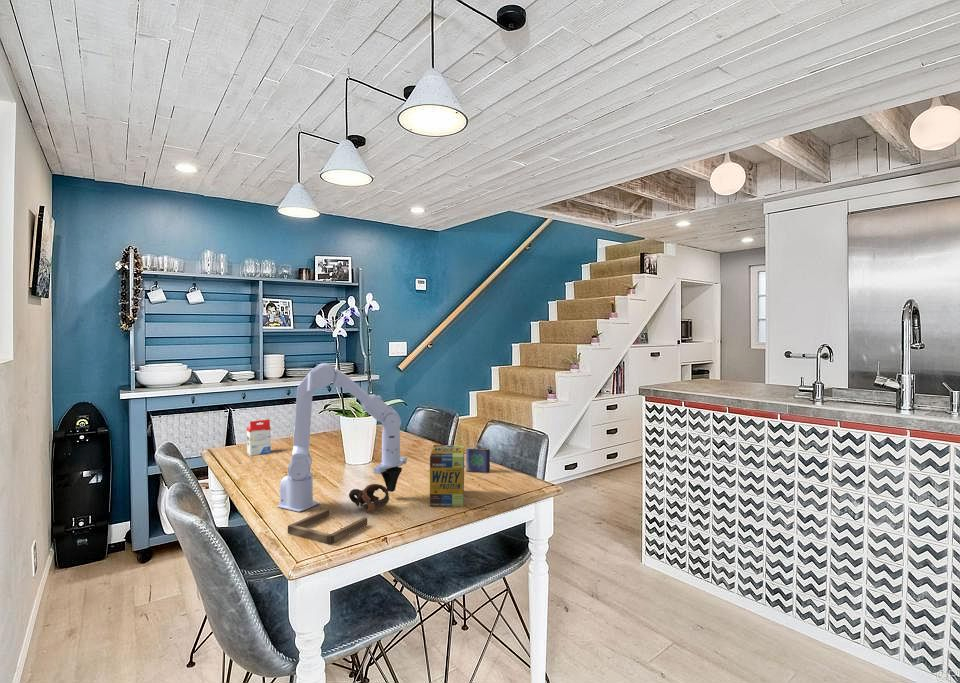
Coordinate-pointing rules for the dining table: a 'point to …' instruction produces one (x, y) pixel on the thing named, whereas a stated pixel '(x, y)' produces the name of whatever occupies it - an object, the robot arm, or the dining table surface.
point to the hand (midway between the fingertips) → (390, 490)
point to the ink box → (258, 438)
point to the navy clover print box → (478, 459)
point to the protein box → (447, 475)
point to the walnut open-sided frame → (304, 532)
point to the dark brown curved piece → (369, 497)
